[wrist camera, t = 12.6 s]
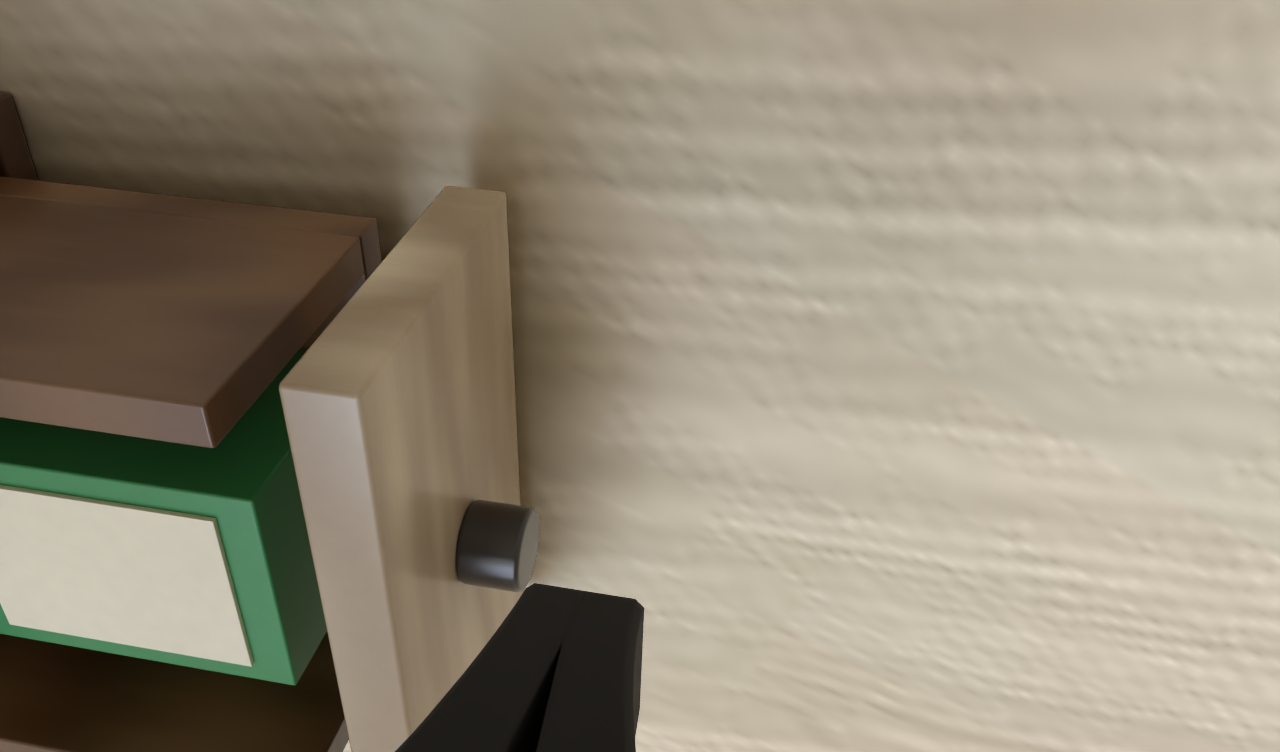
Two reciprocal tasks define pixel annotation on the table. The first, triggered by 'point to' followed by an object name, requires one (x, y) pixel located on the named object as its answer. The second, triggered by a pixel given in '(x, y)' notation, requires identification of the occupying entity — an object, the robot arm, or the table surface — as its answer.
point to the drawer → (318, 434)
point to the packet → (161, 545)
